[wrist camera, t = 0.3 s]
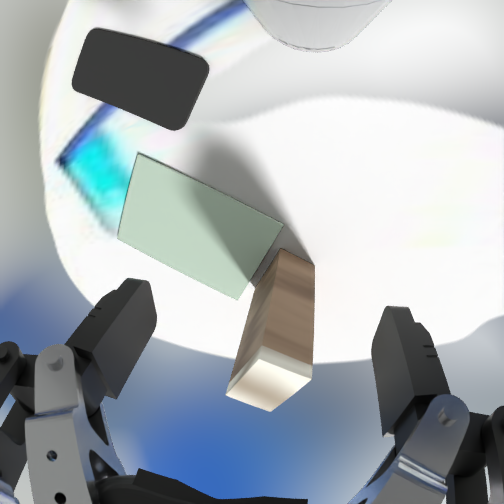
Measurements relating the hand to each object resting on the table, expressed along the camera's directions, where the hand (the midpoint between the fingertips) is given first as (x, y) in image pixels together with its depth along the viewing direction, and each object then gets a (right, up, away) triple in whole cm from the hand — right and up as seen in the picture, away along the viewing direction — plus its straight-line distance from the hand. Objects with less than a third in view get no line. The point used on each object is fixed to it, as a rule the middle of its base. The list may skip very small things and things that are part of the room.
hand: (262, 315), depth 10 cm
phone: (-12, +19, +14) cm, 26 cm away
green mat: (-7, +4, +21) cm, 23 cm away
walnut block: (+3, -1, +22) cm, 22 cm away
